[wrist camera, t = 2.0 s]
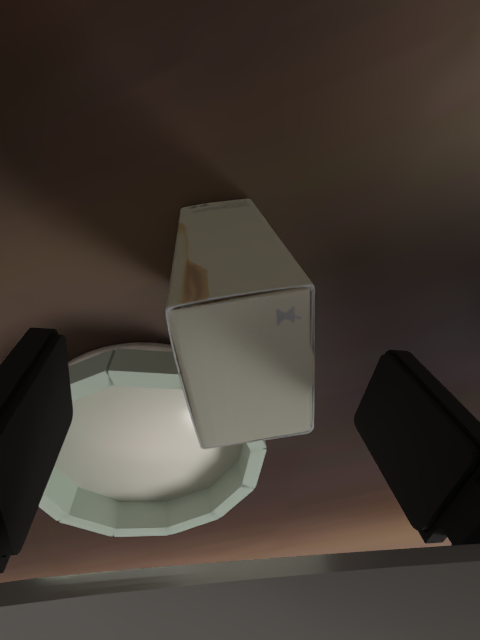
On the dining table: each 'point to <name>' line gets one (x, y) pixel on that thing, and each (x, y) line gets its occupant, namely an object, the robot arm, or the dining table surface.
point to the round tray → (141, 450)
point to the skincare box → (240, 327)
